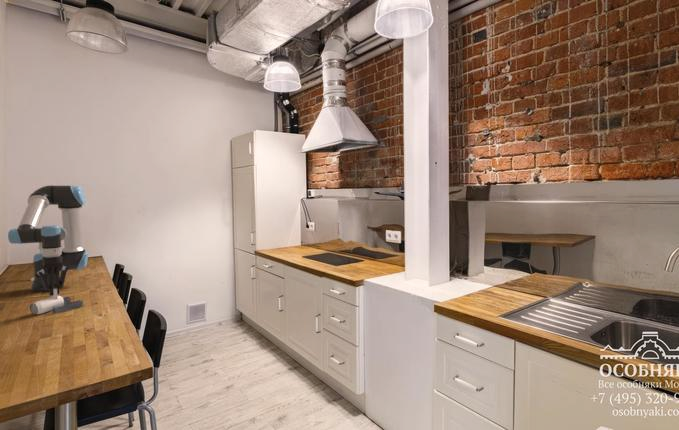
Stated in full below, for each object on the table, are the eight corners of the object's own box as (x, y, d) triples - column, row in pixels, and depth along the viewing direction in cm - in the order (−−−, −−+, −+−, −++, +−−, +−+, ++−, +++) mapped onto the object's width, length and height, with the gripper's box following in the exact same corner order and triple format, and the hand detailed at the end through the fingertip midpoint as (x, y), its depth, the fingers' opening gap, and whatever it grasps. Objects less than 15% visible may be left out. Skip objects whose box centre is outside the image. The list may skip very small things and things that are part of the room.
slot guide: (40, 308, 172) (40, 303, 172) (67, 302, 183) (67, 296, 183) (55, 313, 166) (55, 307, 166) (82, 306, 177) (82, 301, 176)
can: (62, 293, 174) (35, 301, 162) (66, 305, 174) (40, 313, 162) (54, 297, 176) (27, 304, 164) (58, 308, 176) (31, 316, 164)
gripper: (40, 258, 162) (42, 306, 164) (71, 254, 174) (73, 298, 176) (32, 257, 166) (35, 303, 167) (63, 253, 177) (65, 296, 179)
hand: (54, 301), depth 171 cm, fingers closed
